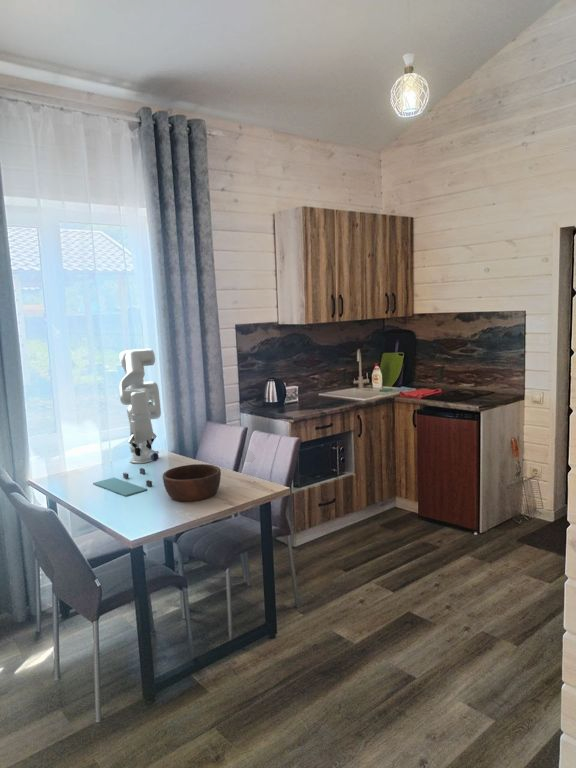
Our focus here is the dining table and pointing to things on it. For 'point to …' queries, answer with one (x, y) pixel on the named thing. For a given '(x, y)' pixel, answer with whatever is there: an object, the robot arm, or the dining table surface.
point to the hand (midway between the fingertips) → (143, 453)
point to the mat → (120, 486)
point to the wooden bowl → (192, 482)
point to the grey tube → (146, 452)
